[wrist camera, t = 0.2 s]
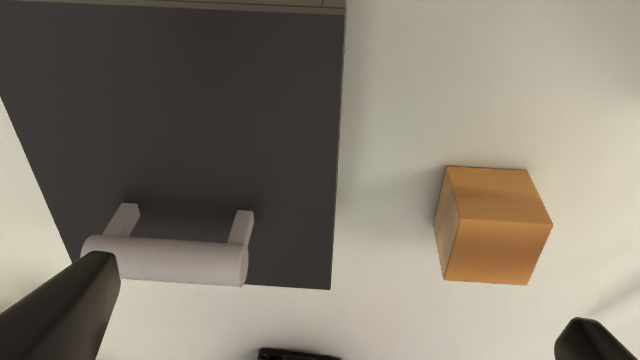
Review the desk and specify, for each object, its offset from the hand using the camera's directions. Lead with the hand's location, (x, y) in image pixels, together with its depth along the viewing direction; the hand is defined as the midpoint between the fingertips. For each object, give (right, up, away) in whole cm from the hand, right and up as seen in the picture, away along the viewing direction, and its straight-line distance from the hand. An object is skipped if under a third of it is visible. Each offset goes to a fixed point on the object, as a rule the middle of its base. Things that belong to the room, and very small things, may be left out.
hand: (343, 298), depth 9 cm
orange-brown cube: (+8, +1, +17) cm, 18 cm away
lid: (-6, +3, +10) cm, 12 cm away
